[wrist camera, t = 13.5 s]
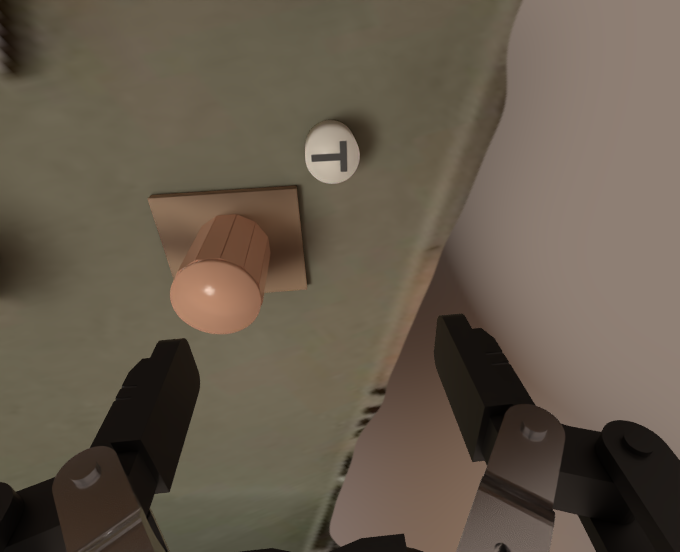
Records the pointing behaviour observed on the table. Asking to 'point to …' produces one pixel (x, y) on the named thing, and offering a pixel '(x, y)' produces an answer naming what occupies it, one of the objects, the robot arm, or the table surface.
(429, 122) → the table surface
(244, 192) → the walnut mat
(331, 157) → the letter puck
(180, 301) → the faceted terracotta cylinder
